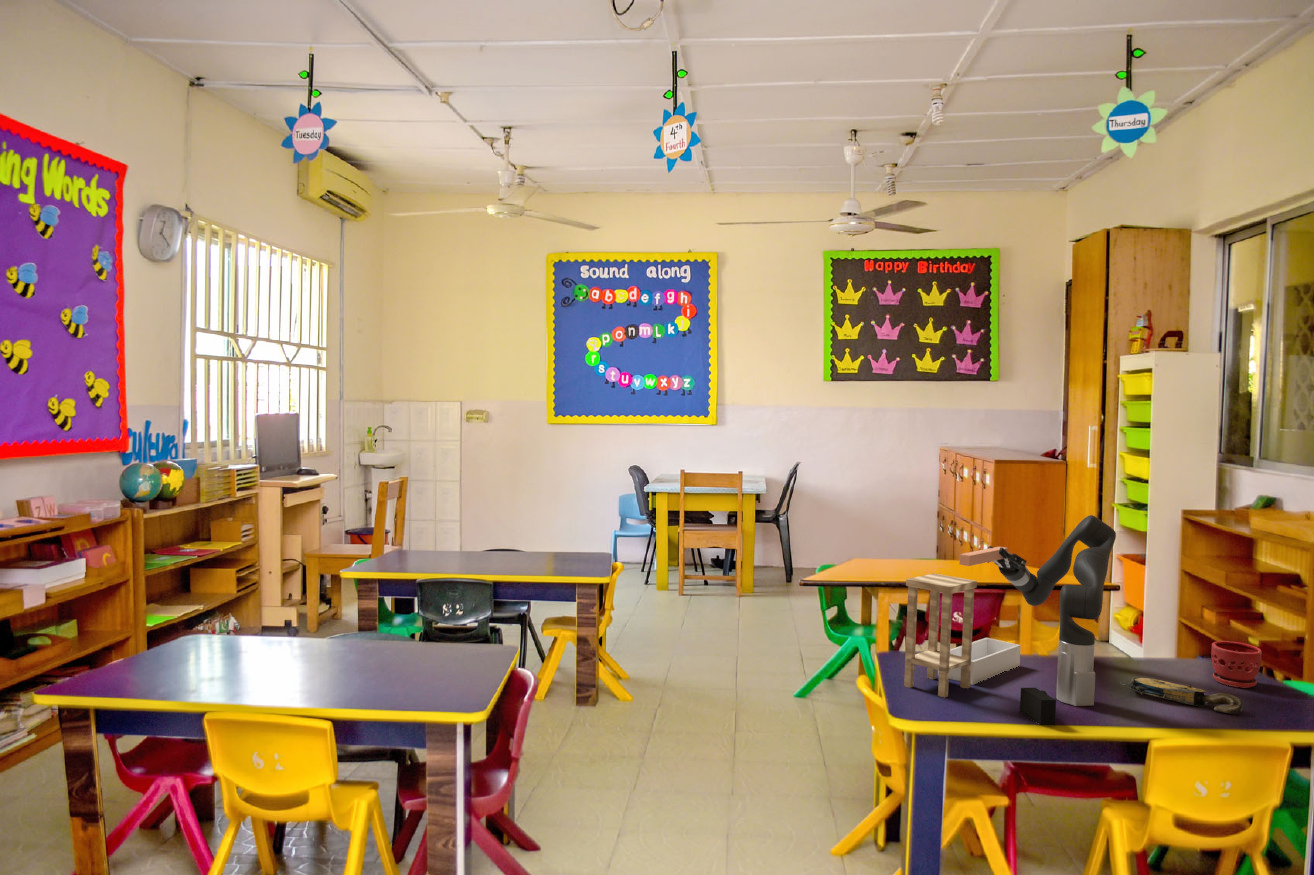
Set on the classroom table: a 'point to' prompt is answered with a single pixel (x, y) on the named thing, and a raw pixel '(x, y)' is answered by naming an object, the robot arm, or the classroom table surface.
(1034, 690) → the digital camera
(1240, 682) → the plant pot
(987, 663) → the grey bin
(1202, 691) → the pulley block
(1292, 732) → the classroom table surface
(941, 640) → the tall stand
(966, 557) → the brown rectangular block
